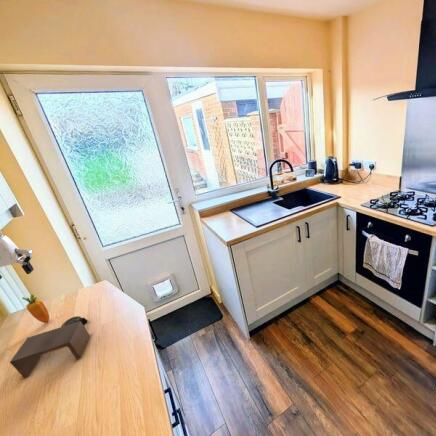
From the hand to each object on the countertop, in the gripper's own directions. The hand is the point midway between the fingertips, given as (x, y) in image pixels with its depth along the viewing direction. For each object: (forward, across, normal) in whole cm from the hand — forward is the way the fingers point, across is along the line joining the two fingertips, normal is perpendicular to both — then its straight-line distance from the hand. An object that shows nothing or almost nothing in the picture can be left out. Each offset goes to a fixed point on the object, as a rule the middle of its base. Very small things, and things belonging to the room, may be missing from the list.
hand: (14, 276), depth 93 cm
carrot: (+25, -1, 0) cm, 25 cm away
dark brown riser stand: (+24, +12, -22) cm, 35 cm away
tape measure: (+25, +13, -10) cm, 30 cm away
